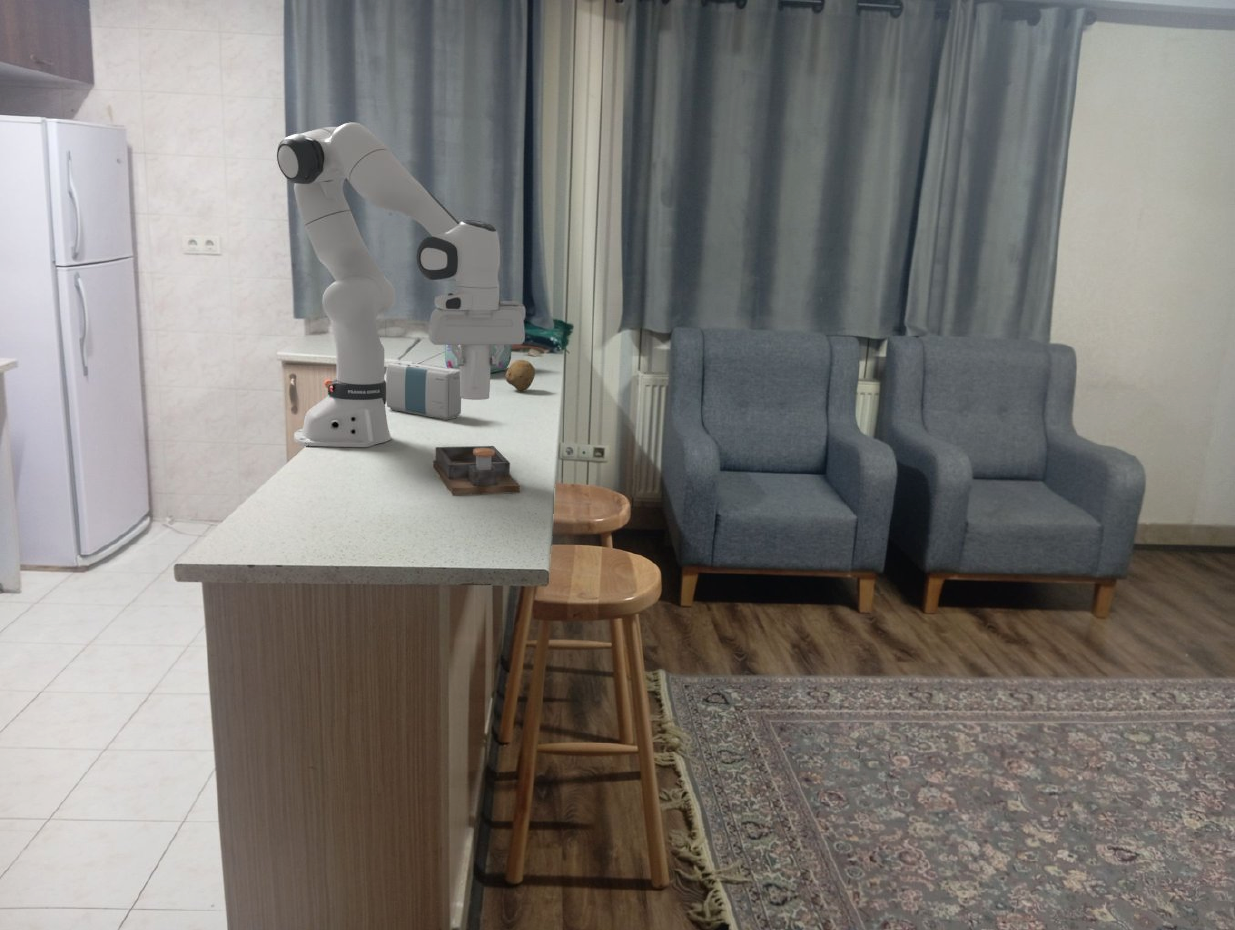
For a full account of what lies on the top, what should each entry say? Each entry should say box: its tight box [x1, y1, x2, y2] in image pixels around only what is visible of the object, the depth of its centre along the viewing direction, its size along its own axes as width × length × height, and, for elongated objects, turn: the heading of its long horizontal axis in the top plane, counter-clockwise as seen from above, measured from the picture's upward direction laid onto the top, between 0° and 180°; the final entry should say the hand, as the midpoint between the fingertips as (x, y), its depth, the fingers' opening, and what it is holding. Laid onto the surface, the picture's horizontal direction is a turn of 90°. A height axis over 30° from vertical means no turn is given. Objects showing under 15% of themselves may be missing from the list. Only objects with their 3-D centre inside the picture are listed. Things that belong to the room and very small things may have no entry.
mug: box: [460, 345, 491, 401], centre depth 216 cm, size 10×7×12 cm, turn 3°
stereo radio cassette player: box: [385, 348, 462, 421], centre depth 273 cm, size 21×8×20 cm, turn 62°
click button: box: [473, 448, 495, 470], centre depth 208 cm, size 4×4×5 cm
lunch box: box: [444, 345, 512, 374], centre depth 341 cm, size 27×10×21 cm, turn 148°
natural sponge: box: [505, 359, 536, 392], centre depth 315 cm, size 9×9×10 cm
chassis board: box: [432, 445, 521, 496], centre depth 216 cm, size 14×22×4 cm, turn 20°
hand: (476, 365), depth 216 cm, fingers closed on mug, 6 cm apart
